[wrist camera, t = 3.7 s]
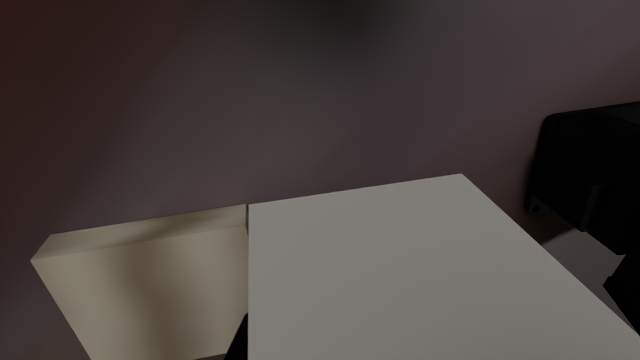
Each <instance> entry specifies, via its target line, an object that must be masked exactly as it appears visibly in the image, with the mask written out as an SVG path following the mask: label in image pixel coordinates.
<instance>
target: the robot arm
mask: <svg viewBox="0 0 640 360" xmlns="http://www.w3.org/2000/svg"><path fill="white" fill-rule="evenodd" d="M555 121H556V122H555ZM554 122H555V124H554V125H553V123H554ZM552 125H553V126H552ZM533 207H534V208H533ZM524 209H525V211H526V212H527V213H529V214H530V215H532V216H535V215H540V214H546V213H552V212H555V213H557V214H558V215H559V216H561V217H562V218H563V219H565V220H566V221H567V222H569V223H570V224H571V225H572V226H574V227H575V228H576V229H578V230H579V231H581V232H587V233H588V234H590V235H591V236H592V237H594V238H595V239H596V240H598V241H599V242H600V243H602V244H603V245H605V246H606V247H607V248H608V249H610V250H611V251H612V252H614V253H615V254H616V255H623V254H626V255H625V257H624V258H623V260H622V261H621V263H620V264H619V266H618V267H617V269H616V270H615V272H614V273H613V275H612V276H609V277H608V278H607V280H606V281H605V283H604V284H603V287H604V288H605V289H606V291H607V292H608V293H609V295H610V296H611V297H612V299H613V300H614V301H615V303H616V304H617V306H618V307H619V308H620V310H621V311H622V312H623V314H624V315H625V316H626V318H627V319H628V321H629V322H630V323H631V325H632V326H633V327H634V329H635V330H636V331H637V333H638V334H639V335H640V101H638V102H631V103H624V104H617V105H610V106H604V107H597V108H590V109H583V110H576V111H569V112H562V113H555V114H551V115H549V116H548V117H547V118H546V119H545V120H544V123H543V127H542V131H541V136H540V140H539V144H538V149H537V153H536V158H535V162H534V167H533V171H532V175H531V180H530V184H529V189H528V193H527V198H526V202H525V207H524ZM223 360H248V312H247V313H246V314H245V315H244V317H243V319H242V321H241V323H240V326H239V328H238V330H237V332H236V334H235V336H234V338H233V340H232V342H231V344H230V346H229V349H228V351H227V353H226V355H225V357H224V359H223Z"/></svg>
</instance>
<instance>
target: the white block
mask: <svg viewBox="0 0 640 360" xmlns="http://www.w3.org/2000/svg"><path fill="white" fill-rule="evenodd" d="M248 360H640V336H639V335H638V334H637V333H636V332H635V331H633V330H632V329H631V328H630V327H629V326H628V325H627V324H626V323H625V322H624V321H622V320H621V319H620V318H619V317H618V316H617V315H616V314H615V313H614V312H613V311H611V310H610V309H609V308H608V307H607V306H606V305H605V304H604V303H603V302H602V301H600V300H599V299H598V298H597V297H596V296H595V295H594V294H593V293H592V292H591V291H590V290H589V289H588V288H586V287H585V286H584V285H583V284H582V283H581V282H580V281H579V280H578V279H577V278H575V277H574V276H573V275H572V274H571V273H570V272H569V271H568V270H567V269H566V268H564V267H563V266H562V265H561V264H560V263H559V262H558V261H557V260H556V259H555V258H554V257H552V256H551V255H550V254H549V253H548V252H547V251H546V250H545V249H544V248H543V247H542V246H540V245H539V244H538V243H537V242H536V241H535V240H534V239H533V238H532V237H531V236H530V235H528V234H527V233H526V232H525V231H524V230H523V229H522V228H521V227H520V226H519V225H517V224H516V223H515V222H514V221H513V220H512V219H511V218H510V217H509V216H508V215H507V214H505V213H504V212H503V211H502V210H501V209H500V208H499V207H498V206H497V205H496V204H495V203H493V202H492V201H491V200H490V199H489V198H488V197H487V196H486V195H485V194H484V193H482V192H481V191H480V190H479V189H478V188H477V187H476V186H475V185H474V184H473V183H472V182H470V181H469V180H468V179H467V178H466V177H465V176H464V175H463V174H455V175H448V176H441V177H435V178H428V179H421V180H414V181H407V182H401V183H394V184H387V185H380V186H373V187H367V188H360V189H353V190H346V191H339V192H332V193H326V194H319V195H312V196H305V197H298V198H292V199H285V200H278V201H271V202H264V203H258V204H251V205H249V258H248Z"/></svg>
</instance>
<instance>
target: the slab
mask: <svg viewBox="0 0 640 360" xmlns="http://www.w3.org/2000/svg"><path fill="white" fill-rule="evenodd" d="M248 258H249V215H248V211H247V206H246V204H242V205H236V206H230V207H223V208H217V209H210V210H204V211H198V212H191V213H185V214H179V215H172V216H166V217H160V218H153V219H147V220H141V221H134V222H128V223H122V224H115V225H109V226H103V227H96V228H90V229H84V230H77V231H71V232H65V233H58V234H52V235H50V236H49V237H48V239H47V240H46V241H45V242H44V244H43V245H42V246H41V247H40V249H39V250H38V251H37V252H36V254H35V255H34V256H33V258H32V259H31V260H30V261H31V263H32V264H33V266H34V268H35V269H36V271H37V272H38V274H39V276H40V277H41V279H42V280H43V282H44V284H45V285H46V287H47V289H48V290H49V292H50V293H51V295H52V297H53V298H54V300H55V302H56V303H57V305H58V306H59V308H60V310H61V311H62V313H63V314H64V316H65V318H66V319H67V321H68V323H69V324H70V326H71V327H72V329H73V331H74V332H75V334H76V336H77V337H78V339H79V340H80V342H81V344H82V345H83V347H84V348H85V350H86V352H87V353H88V355H89V357H90V358H91V360H193V359H198V358H204V357H209V356H214V355H219V354H224V353H227V351H228V349H229V346H230V344H231V342H232V340H233V338H234V336H235V334H236V332H237V330H238V328H239V326H240V323H241V321H242V319H243V317H244V315H245V314H246V313H247V312H248Z"/></svg>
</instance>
